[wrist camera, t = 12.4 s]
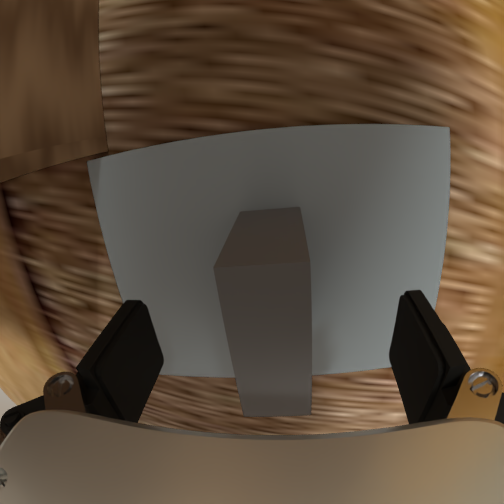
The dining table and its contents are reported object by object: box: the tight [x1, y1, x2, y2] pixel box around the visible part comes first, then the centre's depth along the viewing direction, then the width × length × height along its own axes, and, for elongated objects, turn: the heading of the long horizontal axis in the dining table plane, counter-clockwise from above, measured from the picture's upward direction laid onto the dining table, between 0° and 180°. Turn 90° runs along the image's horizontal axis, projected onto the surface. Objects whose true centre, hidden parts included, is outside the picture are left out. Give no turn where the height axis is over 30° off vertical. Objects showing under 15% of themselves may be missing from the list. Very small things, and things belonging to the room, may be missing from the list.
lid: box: [87, 124, 450, 417], centre depth 14 cm, size 14×18×7 cm
